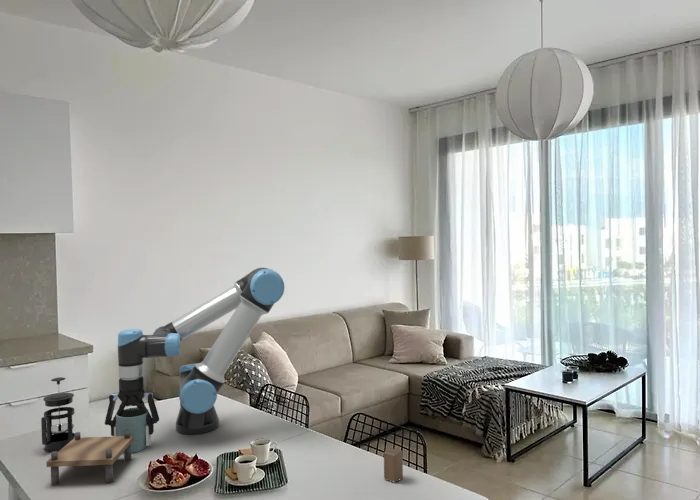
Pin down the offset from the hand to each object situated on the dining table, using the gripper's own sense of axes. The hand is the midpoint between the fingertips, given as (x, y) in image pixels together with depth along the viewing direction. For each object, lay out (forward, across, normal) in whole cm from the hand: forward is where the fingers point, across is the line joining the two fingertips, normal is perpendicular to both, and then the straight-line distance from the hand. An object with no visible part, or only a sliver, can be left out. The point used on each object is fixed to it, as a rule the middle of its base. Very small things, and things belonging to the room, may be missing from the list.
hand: (132, 444), depth 180 cm
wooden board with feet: (+1, +6, +17) cm, 18 cm away
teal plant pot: (+1, 0, 0) cm, 1 cm away
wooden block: (+1, -82, +30) cm, 87 cm away
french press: (+1, +25, -3) cm, 25 cm away
